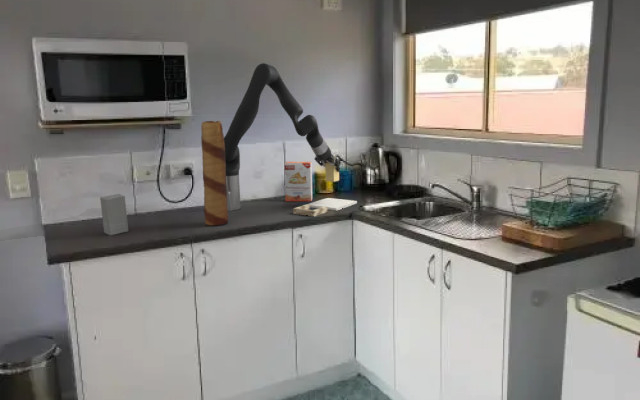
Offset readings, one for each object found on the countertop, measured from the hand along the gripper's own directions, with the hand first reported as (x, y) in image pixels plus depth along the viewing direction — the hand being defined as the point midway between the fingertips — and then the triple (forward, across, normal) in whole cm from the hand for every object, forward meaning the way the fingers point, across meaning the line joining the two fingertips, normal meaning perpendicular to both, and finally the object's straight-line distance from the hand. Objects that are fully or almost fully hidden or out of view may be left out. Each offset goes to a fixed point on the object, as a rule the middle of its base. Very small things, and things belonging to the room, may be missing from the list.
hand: (334, 170), depth 261 cm
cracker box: (+12, +22, +13) cm, 29 cm away
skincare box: (-53, +50, +78) cm, 107 cm away
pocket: (-2, 0, +27) cm, 27 cm away
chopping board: (+11, 0, +14) cm, 18 cm away
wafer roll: (-29, +24, +55) cm, 67 cm away
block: (+2, 0, +5) cm, 6 cm away
